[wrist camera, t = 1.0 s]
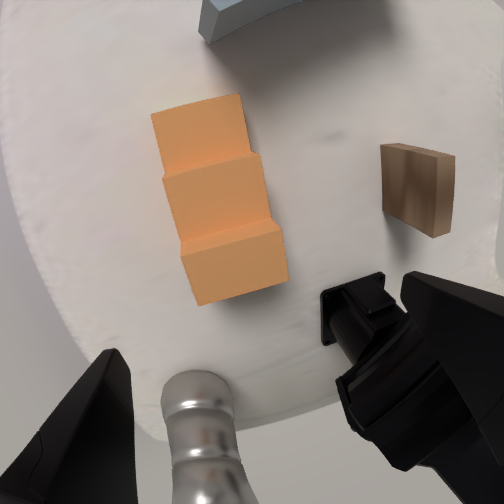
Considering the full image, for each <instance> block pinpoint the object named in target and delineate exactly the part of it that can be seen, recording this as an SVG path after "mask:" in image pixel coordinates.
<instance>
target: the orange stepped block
mask: <svg viewBox="0 0 504 504" xmlns="http://www.w3.org/2000/svg"><path fill="white" fill-rule="evenodd" d="M151 118H152V123H153V127H154V131H155V135H156V139H157V143H158V147H159V151H160V155H161V159H162V163H163V167H164V170H165V174H164V176H163V178H162V181H163V184H164V188H165V191H166V195H167V198H168V202H169V205H170V208H171V212H172V215H173V218H174V222H175V225H176V228H177V231H178V235H179V238H180V241H181V260H182V263H183V266H184V268H185V271H186V274H187V277H188V280H189V283H190V285H191V288H192V291H193V294H194V296H195V299H196V302H197V304H198V306H202V305H205V304H209V303H213V302H216V301H220V300H224V299H227V298H231V297H234V296H238V295H242V294H245V293H249V292H252V291H256V290H259V289H262V288H266V287H269V286H273V285H276V284H279V283H283V282H286V281H289V275H288V268H287V261H286V254H285V248H284V241H283V235H282V229H281V228H280V227H279V226H278V225H277V224H276V223H275V221H274V220H273V219H272V218H271V214H270V208H269V202H268V197H267V191H266V186H265V180H264V175H263V169H262V164H261V159H260V154H257V153H254V152H252V151H251V148H250V143H249V138H248V133H247V128H246V123H245V118H244V113H243V109H242V104H241V99H240V94H239V93H238V94H232V95H227V96H222V97H217V98H212V99H207V100H203V101H199V102H194V103H190V104H186V105H182V106H178V107H175V108H171V109H167V110H164V111H160V112H157V113H154V114H151Z"/></svg>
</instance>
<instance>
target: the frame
mask: <svg viewBox="0 0 504 504" xmlns="http://www.w3.org/2000/svg"><path fill="white" fill-rule="evenodd" d="M381 162H382V193H383V211H385V212H387V213H389V214H390V215H392V216H394V217H396V218H398V219H400V220H401V221H403V222H405V223H407V224H409V225H410V226H412V227H414V228H416V229H417V230H419V231H421V232H423V233H424V234H426V235H428V236H429V237H431V238H436V237H438V236H441V235H444V234H447V233H449V232H450V229H451V221H452V211H453V200H454V184H455V156H453V155H449V154H445V153H441V152H437V151H433V150H429V149H424V148H420V147H415V146H410V145H405V144H400V143H396V144H384V145H381Z"/></svg>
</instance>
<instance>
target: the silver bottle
mask: <svg viewBox="0 0 504 504" xmlns="http://www.w3.org/2000/svg"><path fill="white" fill-rule="evenodd" d="M161 409H162V414H163V418H164V421H165V424H166V427H167V433H168V439H169V445H170V451H171V456H172V467H173V468H172V478H173V494H172V495H173V496H172V504H259V502H258V500H257V498H256V496H255V494H254V492H253V490H252V488H251V486H250V484H249V482H248V479H247V476H246V473H245V470H244V468H243V465H242V464H241V458H240V455H239V452H238V447H237V441H236V433H235V426H234V400H233V397H232V394H231V392H230V390H229V388H228V386H227V384H226V383H225V382H224V381H223V380H221V379H220V378H219V377H217V376H216V375H214V374H212V373H209V372H205V371H196V370H194V371H185V372H182V373H179V374H177V375H175V376H173V377H172V378H171V379H170V380H169V381H168V382H167V383H166V384H165V385H164V387H163V391H162V396H161Z"/></svg>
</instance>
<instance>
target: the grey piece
mask: <svg viewBox="0 0 504 504" xmlns="http://www.w3.org/2000/svg"><path fill="white" fill-rule="evenodd" d="M301 1H304V0H203V2H202V8H201V15H200V22H199V29H198V32H199V33H200V34H201V35H202V37H203V38H204V39H205V40H206V41H207V43H208V44H209V45H210V44H212V43H213V42H215V41H217V40H218V39H220V38H222V37H224V36H226V35H228V34H229V33H231V32H233V31H235V30H237V29H239V28H241V27H243V26H245V25H247V24H249V23H251V22H253V21H255V20H257V19H259V18H262V17H264V16H266V15H268V14H271V13H273V12H275V11H278V10H280V9H283V8H285V7H288V6H290V5H293V4H295V3H298V2H301Z"/></svg>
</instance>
